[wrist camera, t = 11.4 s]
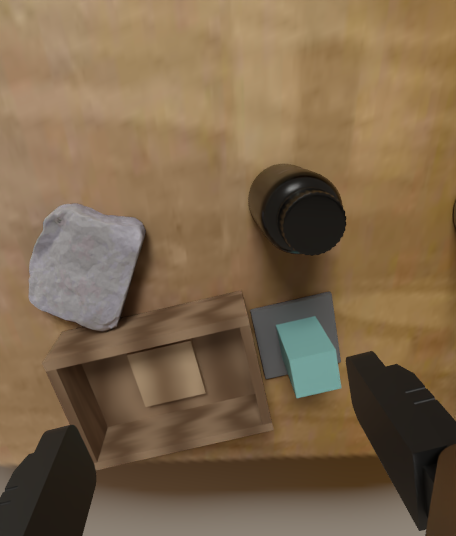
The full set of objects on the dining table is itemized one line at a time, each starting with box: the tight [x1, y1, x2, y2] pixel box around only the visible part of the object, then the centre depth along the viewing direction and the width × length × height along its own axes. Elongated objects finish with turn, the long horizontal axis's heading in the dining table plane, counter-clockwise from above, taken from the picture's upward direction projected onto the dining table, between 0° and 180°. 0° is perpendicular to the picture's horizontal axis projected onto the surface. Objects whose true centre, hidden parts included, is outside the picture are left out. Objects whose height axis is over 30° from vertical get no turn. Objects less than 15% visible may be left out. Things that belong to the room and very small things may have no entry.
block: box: [276, 316, 341, 398], centre depth 42 cm, size 4×4×7 cm
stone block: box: [29, 203, 146, 331], centre depth 40 cm, size 12×5×10 cm
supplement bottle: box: [248, 164, 346, 256], centre depth 34 cm, size 7×7×12 cm
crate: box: [42, 291, 273, 470], centre depth 43 cm, size 20×14×6 cm
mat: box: [250, 292, 341, 379], centre depth 45 cm, size 9×9×1 cm
